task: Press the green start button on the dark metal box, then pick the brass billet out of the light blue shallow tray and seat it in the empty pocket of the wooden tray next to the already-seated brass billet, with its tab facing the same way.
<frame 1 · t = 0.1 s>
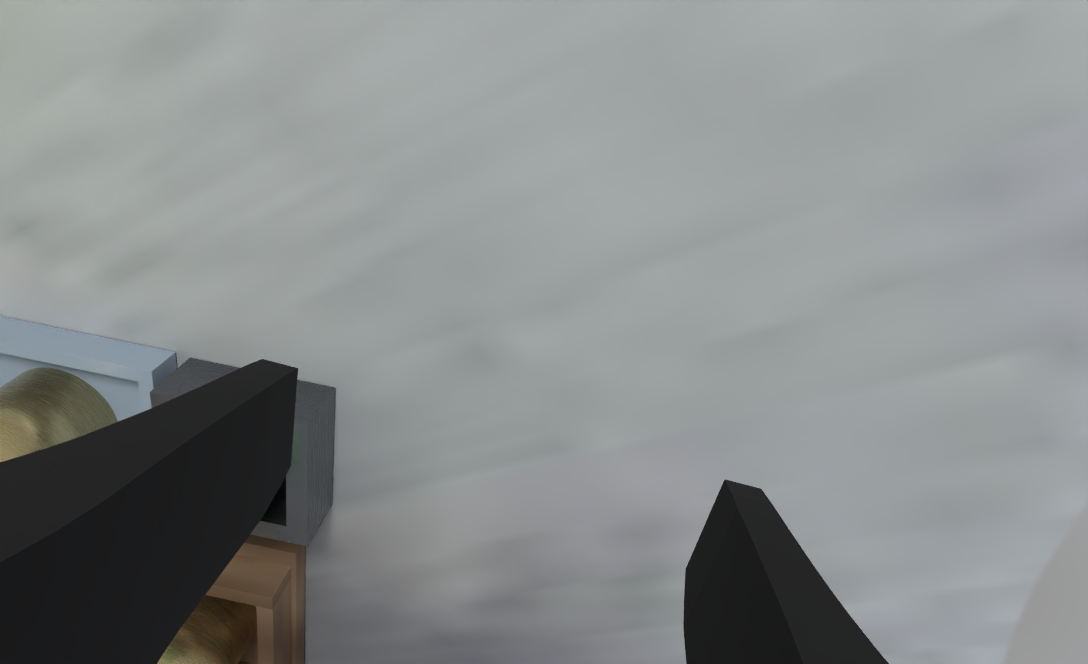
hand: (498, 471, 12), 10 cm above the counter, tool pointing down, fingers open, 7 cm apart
billet: (64, 417, 25), resting on light blue shallow tray
wooden tray: (149, 578, 29), on the counter
light blue shallow tray: (74, 409, 26), on the counter
start button: (225, 480, 23), point 3 cm above the counter, slide at 0.0 cm
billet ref: (210, 609, 28), point 1 cm above the counter, touching wooden tray
button housing: (264, 433, 25), on the counter
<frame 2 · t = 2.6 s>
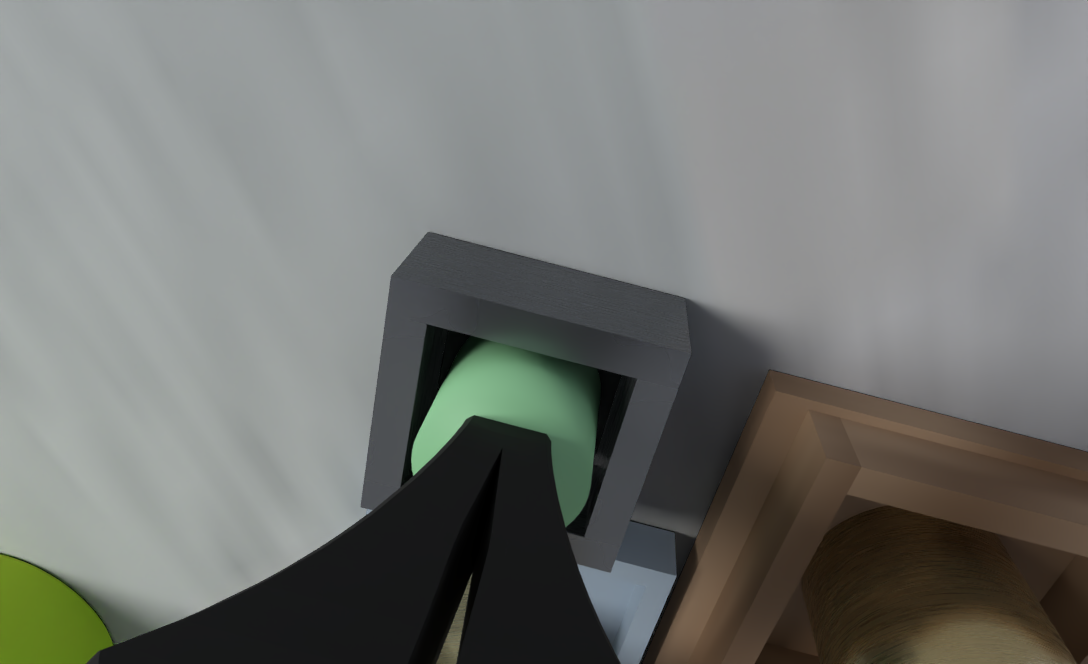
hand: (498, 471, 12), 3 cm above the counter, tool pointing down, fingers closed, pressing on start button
billet: (493, 633, 17), point 1 cm above the counter, touching light blue shallow tray
wooden tray: (834, 643, 17), on the counter
light blue shallow tray: (497, 616, 18), on the counter
start button: (514, 425, 13), point 2 cm above the counter, slide at 0.8 cm, touching gripper
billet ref: (902, 579, 15), point 1 cm above the counter, touching wooden tray
button housing: (528, 375, 15), on the counter
soap dispenser: (5, 617, 21), on the counter
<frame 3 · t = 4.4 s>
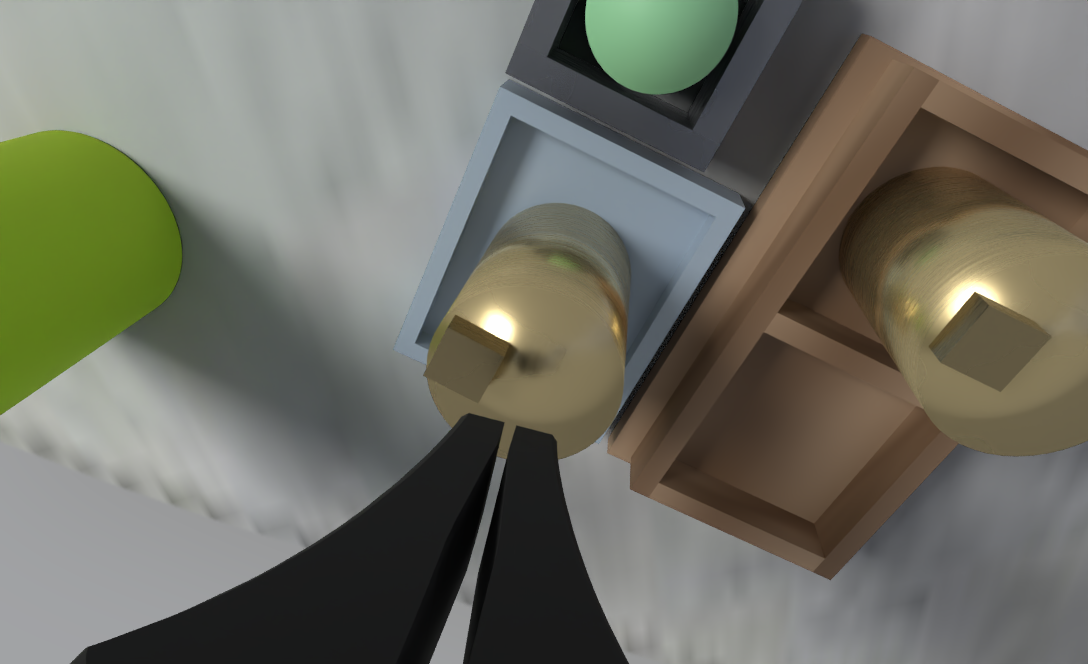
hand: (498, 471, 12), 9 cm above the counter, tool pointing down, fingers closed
billet: (557, 274, 20), point 1 cm above the counter, touching light blue shallow tray
wooden tray: (843, 327, 20), on the counter
light blue shallow tray: (560, 266, 20), on the counter
start button: (659, 12, 16), point 2 cm above the counter, slide at 0.9 cm
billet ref: (923, 246, 18), point 1 cm above the counter, touching wooden tray
button housing: (658, 8, 17), on the counter
soap dispenser: (77, 220, 22), on the counter
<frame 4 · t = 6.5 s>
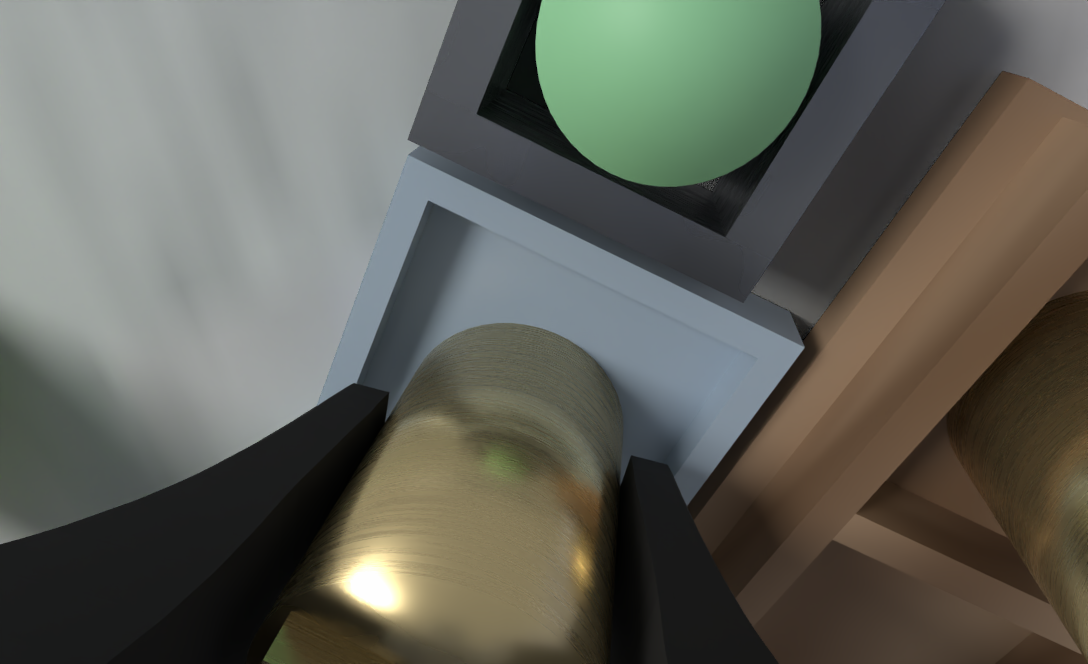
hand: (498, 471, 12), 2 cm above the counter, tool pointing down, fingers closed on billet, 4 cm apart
billet: (513, 422, 13), point 1 cm above the counter, touching gripper, light blue shallow tray
wooden tray: (939, 500, 13), on the counter
light blue shallow tray: (518, 406, 14), on the counter
start button: (670, 37, 9), point 2 cm above the counter, slide at 0.9 cm
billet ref: (1083, 403, 11), point 1 cm above the counter, touching wooden tray
button housing: (666, 28, 10), on the counter
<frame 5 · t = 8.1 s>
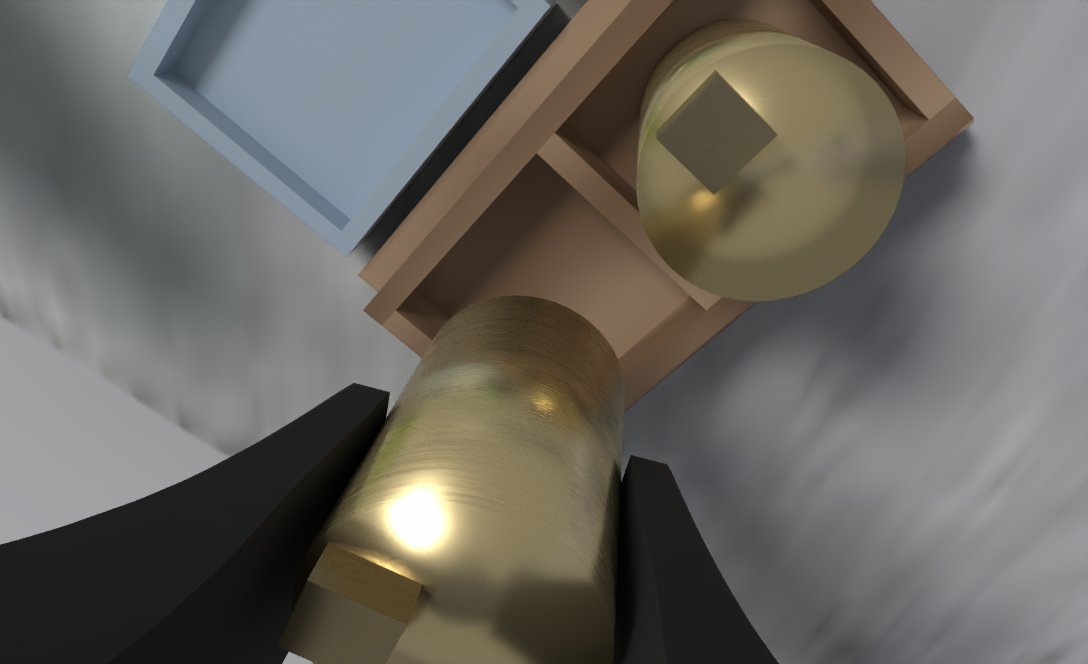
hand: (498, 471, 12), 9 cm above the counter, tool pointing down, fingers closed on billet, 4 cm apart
billet: (522, 389, 14), point 6 cm above the counter, touching gripper
wooden tray: (635, 197, 18), on the counter
light blue shallow tray: (347, 38, 18), on the counter
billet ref: (728, 114, 16), point 1 cm above the counter, touching wooden tray
when the fingers open (3 cm above the counter, at t = 9.6 s): billet stays where it is, resting on wooden tray.
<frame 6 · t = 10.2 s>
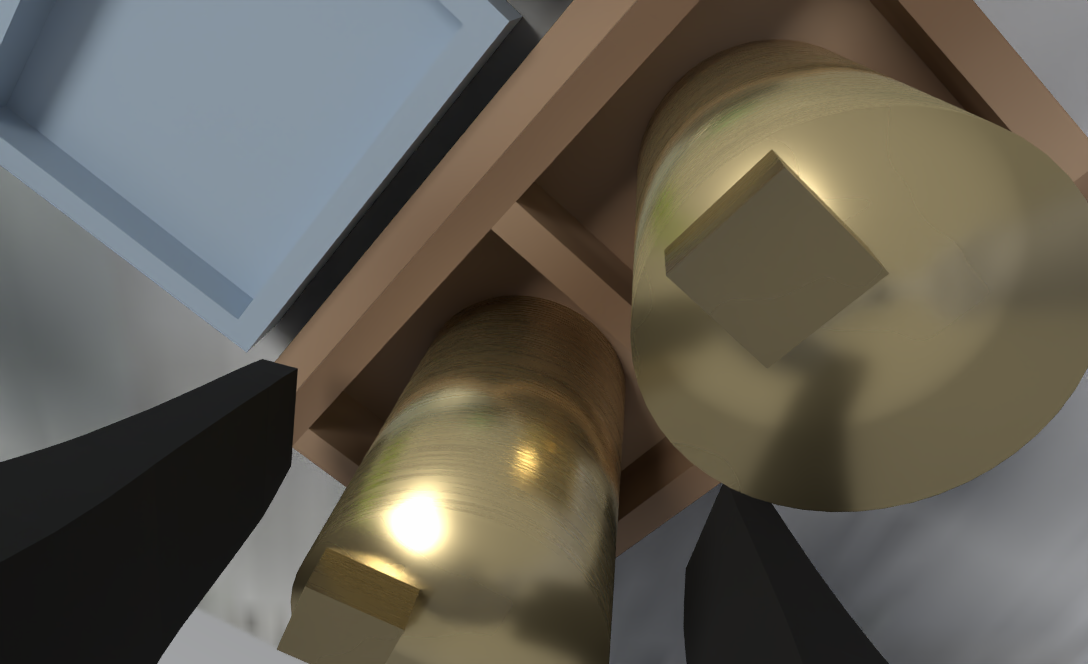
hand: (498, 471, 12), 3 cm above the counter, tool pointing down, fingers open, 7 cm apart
billet: (523, 388, 14), point 1 cm above the counter, touching wooden tray
wooden tray: (631, 274, 14), on the counter
light blue shallow tray: (239, 62, 13), on the counter
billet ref: (760, 170, 12), point 1 cm above the counter, touching wooden tray
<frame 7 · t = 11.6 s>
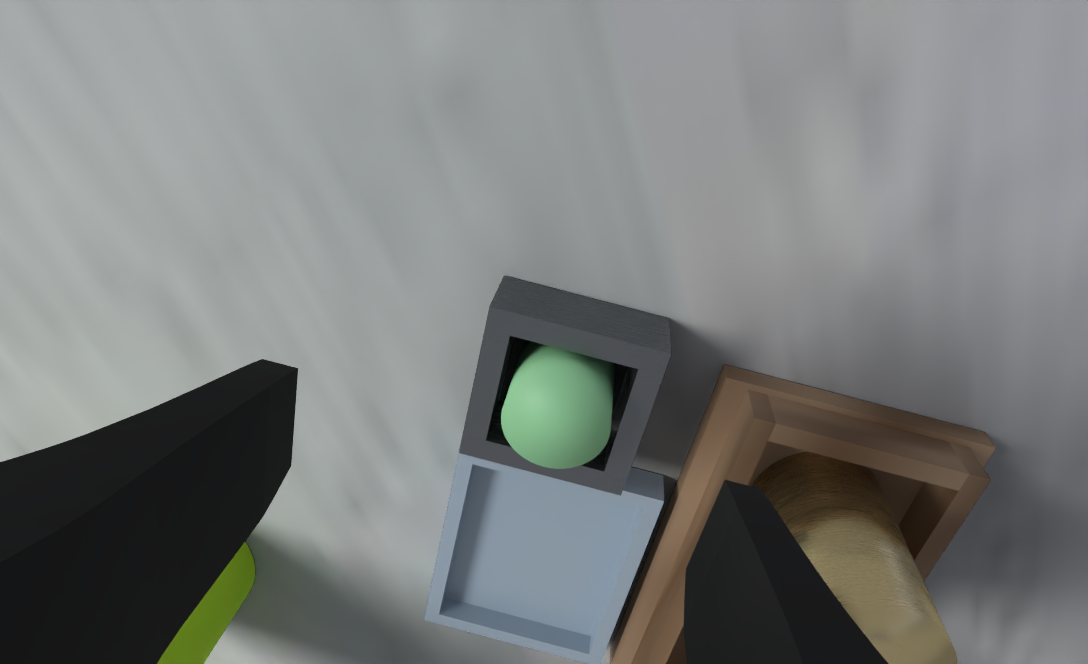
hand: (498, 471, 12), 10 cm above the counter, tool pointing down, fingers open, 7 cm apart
wooden tray: (774, 554, 25), on the counter
light blue shallow tray: (539, 538, 26), on the counter
start button: (560, 396, 21), point 2 cm above the counter, slide at 0.9 cm
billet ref: (813, 503, 22), point 1 cm above the counter, touching wooden tray
button housing: (566, 368, 22), on the counter
soap dispenser: (173, 547, 28), on the counter
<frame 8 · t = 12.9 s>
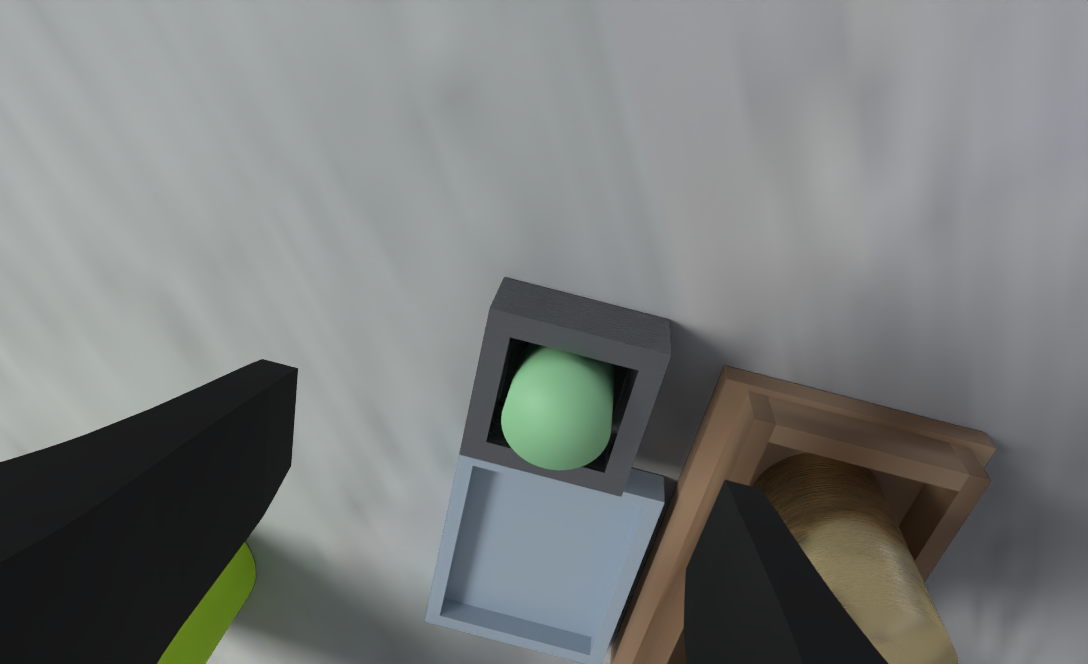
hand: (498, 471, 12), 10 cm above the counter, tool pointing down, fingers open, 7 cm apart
wooden tray: (774, 555, 25), on the counter
light blue shallow tray: (540, 539, 26), on the counter
start button: (561, 398, 21), point 2 cm above the counter, slide at 0.9 cm
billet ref: (814, 504, 22), point 1 cm above the counter, touching wooden tray
button housing: (566, 369, 22), on the counter
soap dispenser: (174, 549, 28), on the counter
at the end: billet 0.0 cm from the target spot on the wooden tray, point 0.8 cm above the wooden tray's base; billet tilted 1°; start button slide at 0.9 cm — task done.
